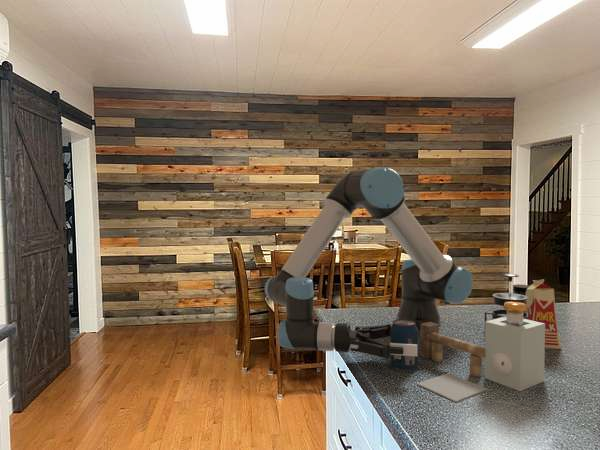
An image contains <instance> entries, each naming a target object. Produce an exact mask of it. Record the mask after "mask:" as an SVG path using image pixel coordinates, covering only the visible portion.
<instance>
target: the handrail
mask: <svg viewBox="0 0 600 450" xmlns="http://www.w3.org/2000/svg"><path fill="white" fill-rule="evenodd" d="M439 328H440V325H439V324H436V323H433V322H427V323H423V324H421V328H420V338H419V339H420V345H419V346H420V347H419V348H420V349H419V351H420V357H424V358H426V359H428V360H429V359H431V361H434V362H436V363H439V362H443V353H444V352H443V350H444V349H443V345H444V346H446V347H450V348H453V349H456V350H459V351H462V352H463V353H464V352H465V353H467V354H469V375H471V376H473V377H476V378H477V377H481V376H483V375H482V373H483V359H485V346H480V345H477V344H474V343H471V342H468V341H467V342H466V341H464V340H461V339H457V338H454V337H452V336H451V337H450V336H447V335H443V334H441V333H439V332H440V329H439Z"/></svg>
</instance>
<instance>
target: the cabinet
mask: <svg viewBox="0 0 600 450" xmlns="http://www.w3.org/2000/svg"><path fill="white" fill-rule="evenodd" d="M484 338H485V341H484V348H485V358H484V379H487V380H489V381H492V382H494V383H497V384H500V385H503V386H504V387H507V388H510V389H512V390H515V391H518V392H522V391H525V390H526V389H528V388H532V387H534V386H537V385H539V384H540V383H543V382H545V355H546V354H545V353H546V352H545V349H546V348H545V323H540V322H536V321H532V320H527V319H523V326H520V327H518V326H514V325H510V324H507V315H506V316H505V315H504V317H501V318H497V319H493V320H492V319H489V320H487V321H486V322H485V321H484Z"/></svg>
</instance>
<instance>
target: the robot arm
mask: <svg viewBox="0 0 600 450" xmlns="http://www.w3.org/2000/svg"><path fill="white" fill-rule="evenodd" d="M404 186H405V185H404V181H403V179H402V177H401V176H400V175H399V174H398V172H396V171H395V170H394V169H392V168H390V167H383V166H382V167H381V166H375V167H370V168H364V169H355V170H351V171H349V172H347V173H346V174H345V175H344V176H342V177H340V179H339V180H338V181H337V183H335V185H334V186H333V188H331V190H330V191H329V193H328V194H327V196H326V198H325V199H323V200H324V201H323V202H324V206H323V208H322V209H321V210H320V212H319V213H318V214H317V216H316V217H315V220H314V221H312V224H311V225H310V226H309V228H308V229H307V231H306V232H305V234H304V235H303V237H302V238H301V240H300V241H299V243H298V245H296V247H295V249H294V250H293V251H292V253H291V254H290V256H289V257H288V259H287V260H286V261H285V263H284V265H283V266H282V267H281V270H280V271H279V272H278V274H277V275H276V276H271V277H270V278H268V279H267V281H266V282H265V285H264V292H265V295H266V296H267V298H268V299H269V300H271V302H273V303H276V304H278V305H281V306H282V307H284V308H285V309H286V310H285V311H286V312H285V313H286V315H285V316H286V318H285V319H283V320H280V322H279V325H278V328H277V342H278V344H279V346H280V347H282V348H283V349H284V348H286V349H293V350H307V351H308V350H309V351H322V352H323V353H327V351H328V352H333V351H334V350H335V351H336V352H338V353H349V352H350V351H351V352H358V353H362V354H367V355H371V356H375V357H379V358H383V359H391V355H403V356H417V344H399V343H391V342H389V343H386V342H382V341H380V340H378V339H382V338H388V337H389V338H390V337H391V326H392V324H390V323H387V324H381V325H369V326H355V327H354V330H351V325H350V324H349V323H345V322H337V323H336V324H335V322H330V321H328V322H327V321H326V322H324V321H323V322H322V321H314V299H315V298H314V295H315V292H314V282H313V279H311V278H310V277H307V276H308V274H309V273H310V271H311V269H312V268H313V267H314V265H315V264H316V263H317V260H318V259H319V257H320V256H321V255H322V253H323V252H324V250H325V249H326V248H327V246H328V244H329V242H330V241H331V240H332V239H333V236H334V235H335V233H337V230H338V229H339V227H340V226H341V225H342V224H343V221H344V220H345V219H348V218H350V217H351V216H352V214H353V213H354V212H355V211H356V210H358V209H359V208H360V209H361V208H362V209H363V208H364V209H365V211H366V212H367V213H368V214H369V215H370V216H371V218H372V219H373V220H375V221H381V222H382V224H383V225H384V226H385V227H386V229H387V230H388V231H389V233H390V234H391V236H393V237H394V239H395V240H396V241H397V243H398V244H399V246H401V248H402V249H403V251H404V252H406V254H407V255H408V257H409V258H410V259H405V260H403V262H402V264H401V269H400V271H401V303H400V306H399V308H398V312H397V314H396V320H397V319H407V320H412V321H414V322H415V323H416V326H417V328H418V329H421V324H423V323H427V322H433V323H436V324H439V326H441V323H442V322H441V320H442V319H441V316H440V312H439V309H438V306H437V302H436V300H438V301H442V302H443V301H444V302H446V303H448V304H462V303H463V302H465V301H466V300H467V299H468V298H469V296H470V295H471V292H472V289H473V283H474V282H473V279H474V278H473V276H472V273H471V272H470V270H469V269H467V268H465V267H463V266H461V267H459V266H458V265H457V264H456V262H455V261H454V260H453V259H452V257H451V256H450V255H449V254H443V253H442V252H441V251H440V249H439V248H438V247H437V245H436V244H435V242H434V241H433V240H432V238H431V237H430V235H428V233H427V232H426V230H425V229H424V228H423V227H422V225H421V224H420V223H419V221H418V220H417V219H416V217H415V216H414V215H413V213H412V212H411V210H410V209H409V208H408V207H407V205H406V203H405V202H406V196H405V195H406V194H405V189H404Z"/></svg>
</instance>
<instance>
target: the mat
mask: <svg viewBox="0 0 600 450" xmlns="http://www.w3.org/2000/svg"><path fill="white" fill-rule="evenodd" d="M416 384H417V386H420V387H421V388H424V389H426V390H428V391H431V392H433V393H435V394H438V395H440V396H442V397H443V398H445V399H448V400H450V401H453V402H454V403H458V402H461V401H464V400H466V399H469V398H471V397H473V396H476V395H478V394H481V393H484V392H486V391H488V388H486V387H483V386H482V385H479V384H476V383H474V382H472V381H470V380H469V381H468V380H467V379H464V378H460V377H458V376H456V375H453V374H451V373H449V372H447V373H444V374H442V375H439V376H436V377H432V378H429V379H426V380H422V381H419V382H417V383H416Z"/></svg>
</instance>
